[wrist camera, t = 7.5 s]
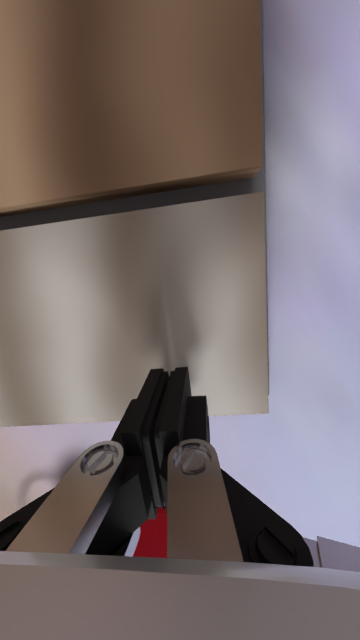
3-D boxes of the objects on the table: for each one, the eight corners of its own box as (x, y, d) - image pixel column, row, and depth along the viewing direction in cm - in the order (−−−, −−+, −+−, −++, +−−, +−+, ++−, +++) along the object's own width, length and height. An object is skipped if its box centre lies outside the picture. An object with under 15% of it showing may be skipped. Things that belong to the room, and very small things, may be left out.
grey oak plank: (254, 200, 10) (263, 191, 9) (260, 395, 13) (268, 413, 12) (-189, 264, 13) (-237, 265, 12) (-109, 417, 16) (-140, 433, 14)
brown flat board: (255, -152, 8) (258, -178, 7) (266, 389, 14) (269, 394, 13) (-312, 18, 11) (-336, 7, 10) (-102, 412, 16) (-111, 417, 16)
